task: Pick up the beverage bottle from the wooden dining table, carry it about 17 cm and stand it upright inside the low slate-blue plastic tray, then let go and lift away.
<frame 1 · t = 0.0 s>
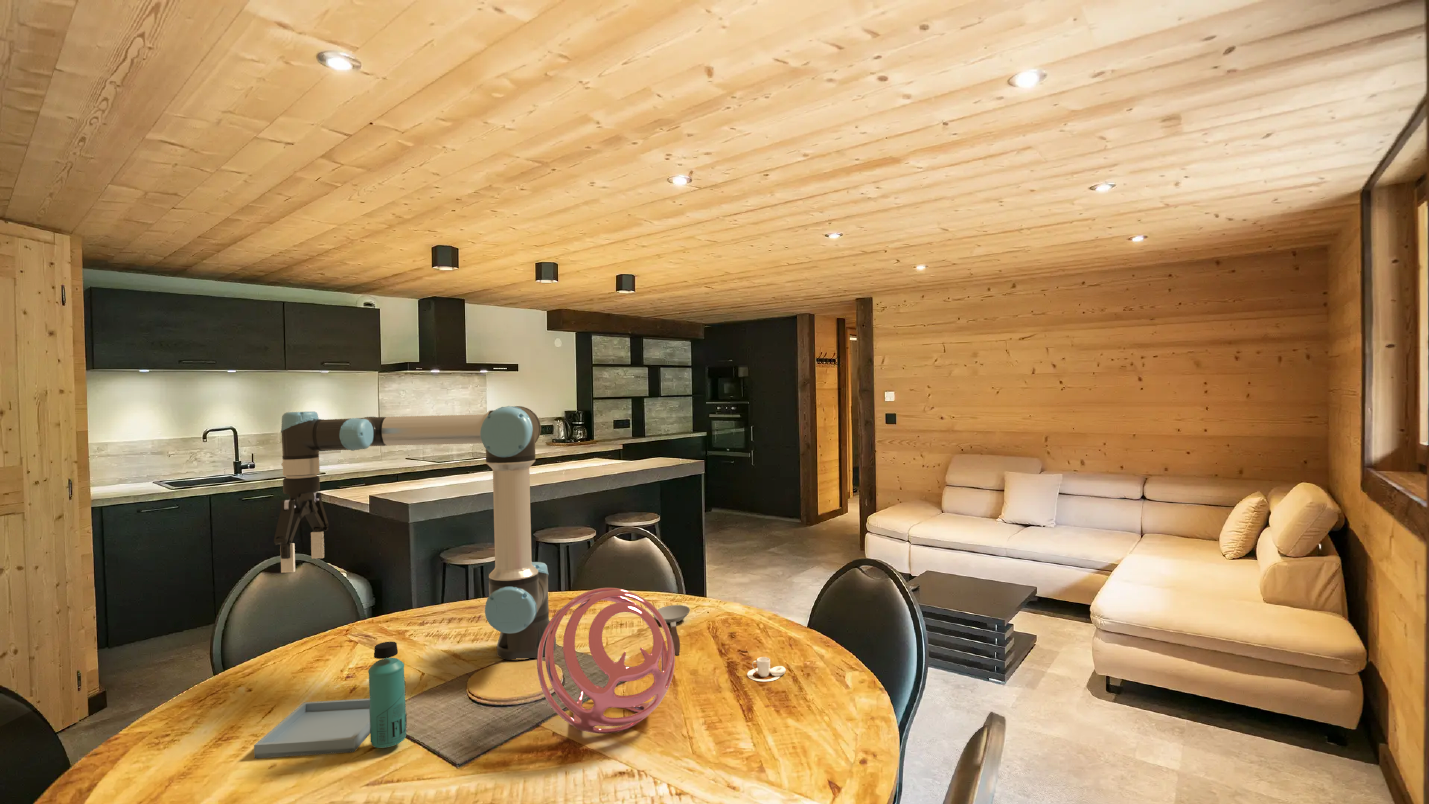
hand: (303, 565, 162), 28 cm above the table, fingers open, 13 cm apart
teacup and saucer: (771, 682, 158), on the table
tray: (327, 731, 137), on the table
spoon: (673, 635, 190), on the table
beverage bottle: (388, 748, 130), on the table
pink openwork sphere: (610, 724, 138), on the table
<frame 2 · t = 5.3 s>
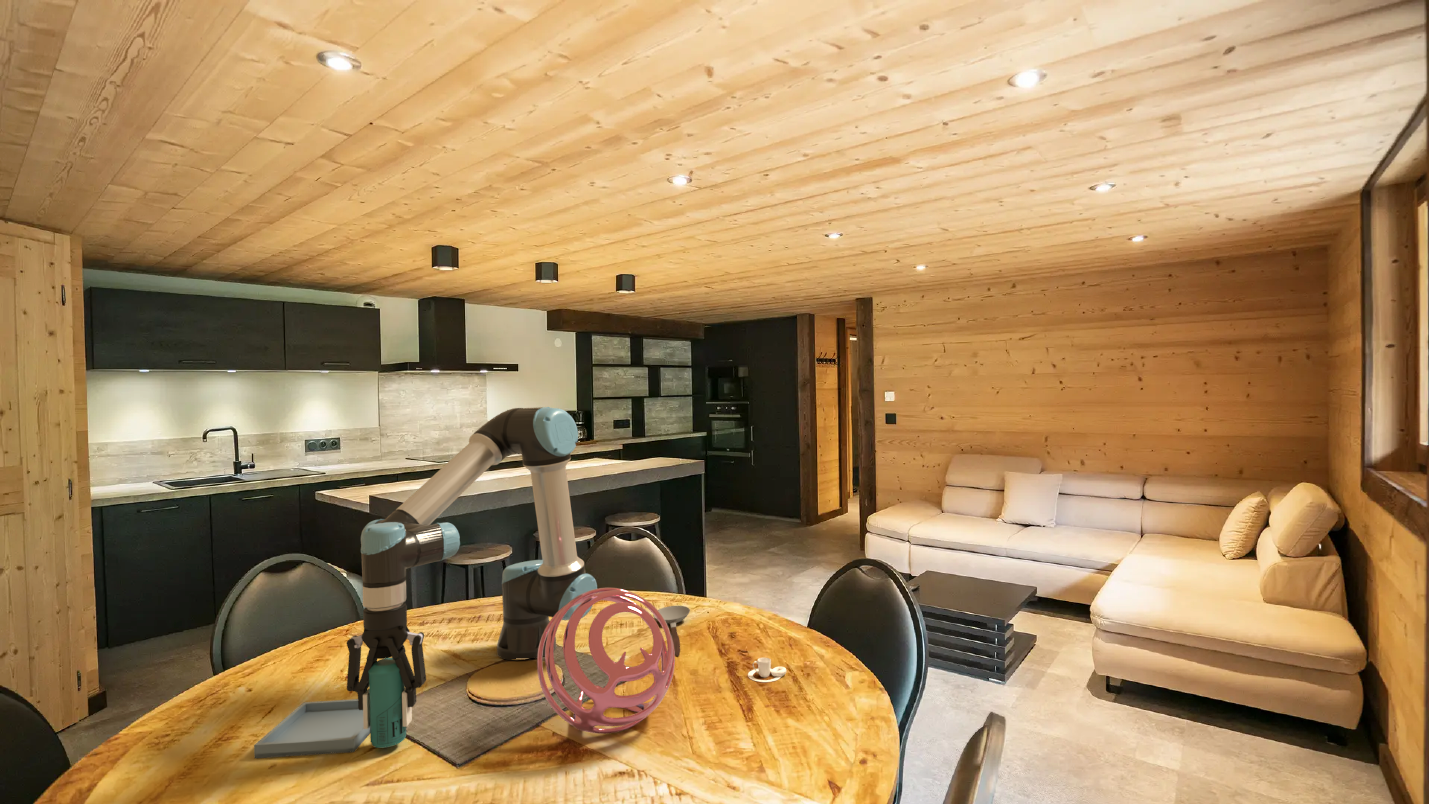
hand: (388, 724, 130), 4 cm above the table, fingers closed on beverage bottle, 6 cm apart
beverage bottle: (388, 748, 130), on the table, touching gripper
everything else where it was.
when the fingers open (7 cm above the table, at t = 10.0 s): beverage bottle drops 1 cm, resting on tray.
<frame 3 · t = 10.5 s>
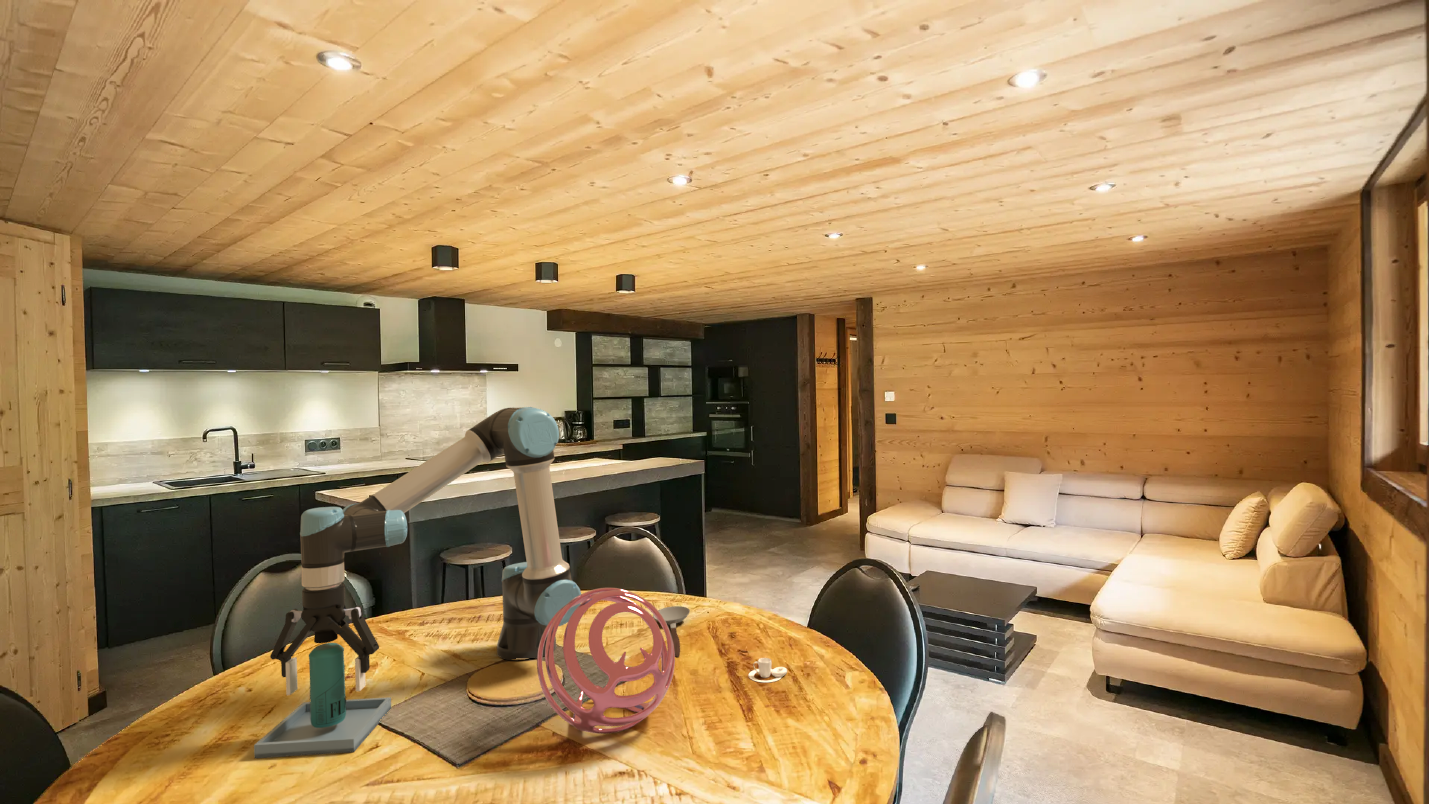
hand: (326, 690, 137), 8 cm above the table, fingers open, 13 cm apart
beverage bottle: (328, 728, 137), point 1 cm above the table, touching tray
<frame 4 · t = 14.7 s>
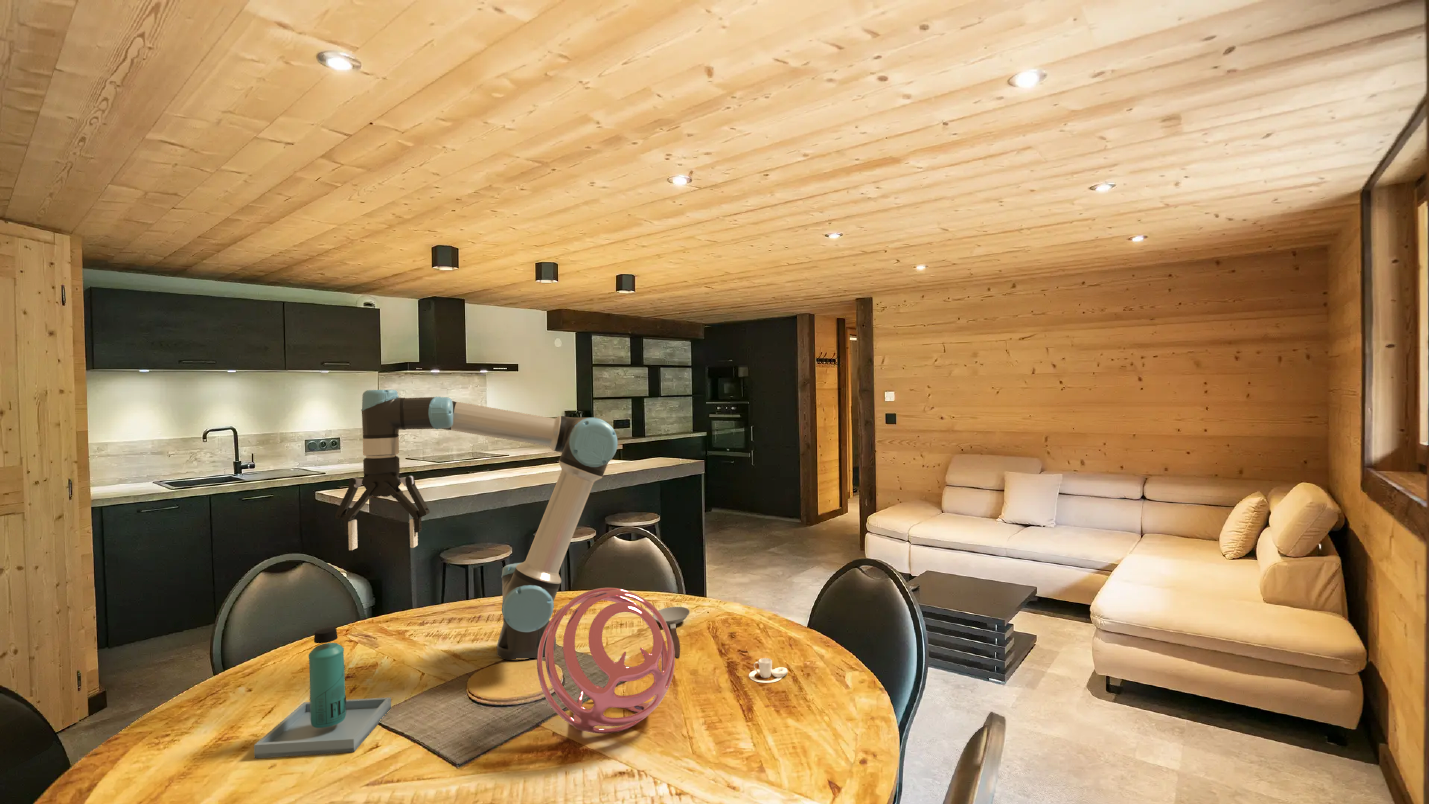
hand: (383, 547, 157), 33 cm above the table, fingers open, 13 cm apart
at the end: beverage bottle inside the target area on the tray (0.2 cm from its centre), point 0.6 cm above the tray's base; beverage bottle tilted 0°; the gripper is holding nothing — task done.
